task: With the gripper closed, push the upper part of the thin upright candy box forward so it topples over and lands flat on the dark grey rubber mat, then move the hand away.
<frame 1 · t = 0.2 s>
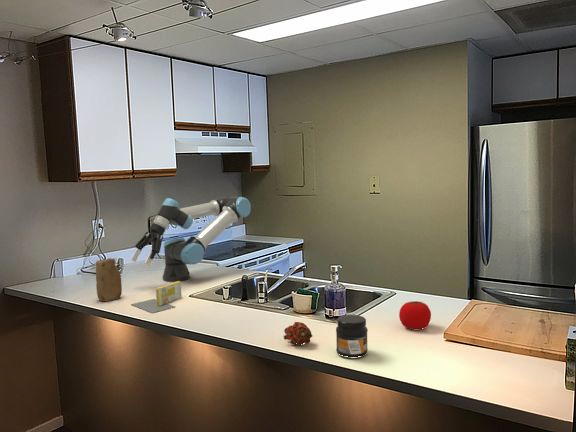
hand: (139, 262, 249), 16 cm above the worktop, tool tilted 35°, fingers open, 13 cm apart
mat: (153, 306, 227), on the worktop
tomato: (415, 328, 188), on the worktop
candy box: (169, 302, 233), on the worktop, touching mat
supplement container: (352, 354, 165), on the worktop
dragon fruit: (297, 344, 175), on the worktop
block: (110, 299, 241), on the worktop
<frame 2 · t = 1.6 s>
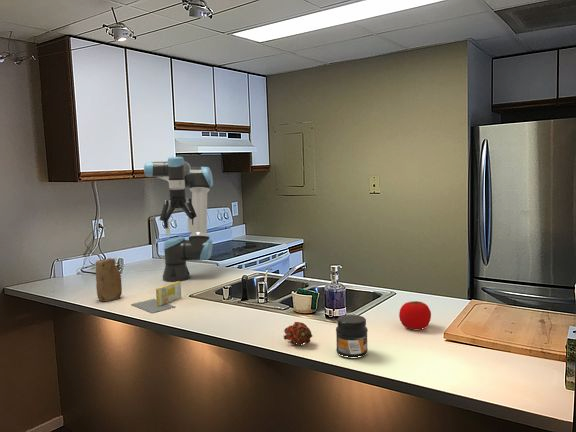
hand: (179, 233, 239), 31 cm above the worktop, tool pointing down, fingers open, 12 cm apart
nothing on the worktop moved.
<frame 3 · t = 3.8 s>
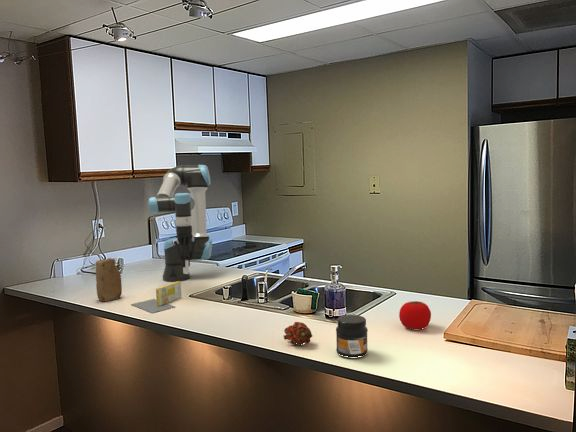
hand: (186, 273, 238), 12 cm above the worktop, tool pointing down, fingers closed
nothing on the worktop moved.
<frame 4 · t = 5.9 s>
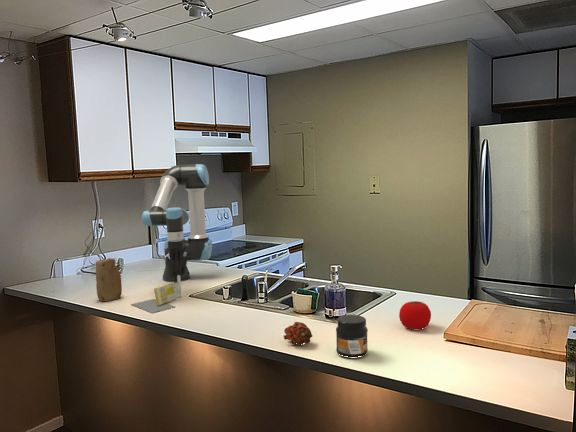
hand: (178, 288, 236), 6 cm above the worktop, tool pointing down, fingers closed
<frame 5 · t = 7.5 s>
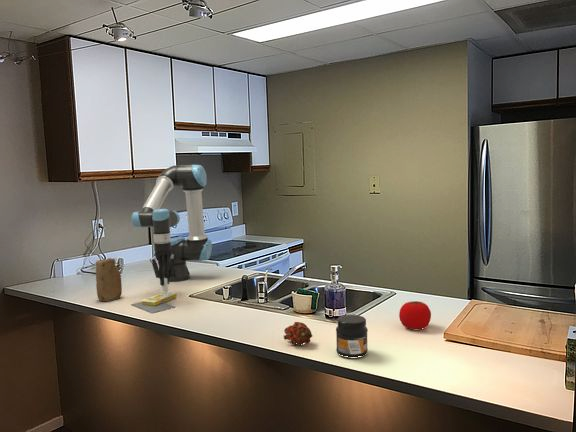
hand: (165, 291, 231), 5 cm above the worktop, tool pointing down, fingers closed
candy box: (166, 299, 232), point 1 cm above the worktop, touching mat
everything else where it was.
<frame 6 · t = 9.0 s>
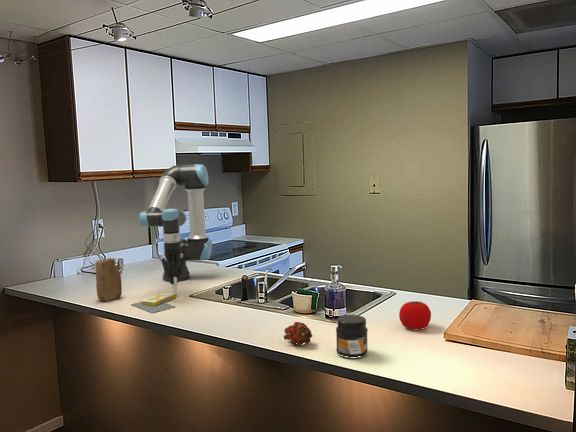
hand: (174, 290, 235), 5 cm above the worktop, tool pointing down, fingers closed
nothing on the worktop moved.
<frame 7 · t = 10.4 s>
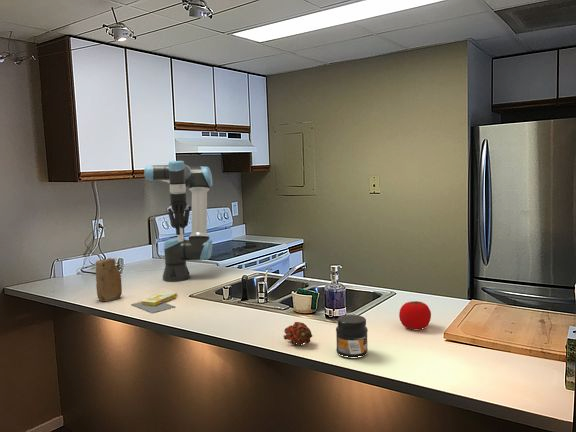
hand: (180, 241, 240), 28 cm above the worktop, tool pointing down, fingers closed
nothing on the worktop moved.
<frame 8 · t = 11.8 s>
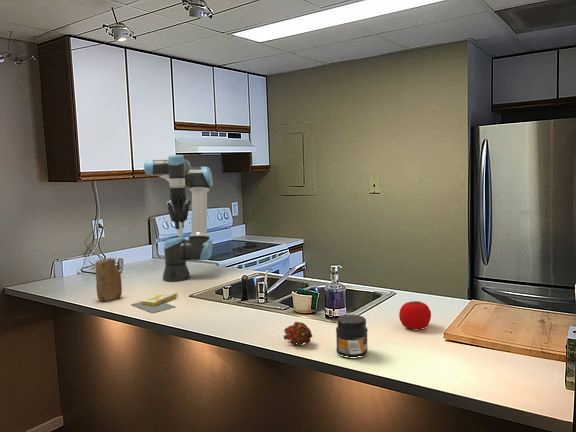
hand: (180, 235, 239), 30 cm above the worktop, tool pointing down, fingers closed
nothing on the worktop moved.
at the end: candy box tilted 89°; candy box inside the target area (6.1 cm from its centre), point 1.2 cm above the worktop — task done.
